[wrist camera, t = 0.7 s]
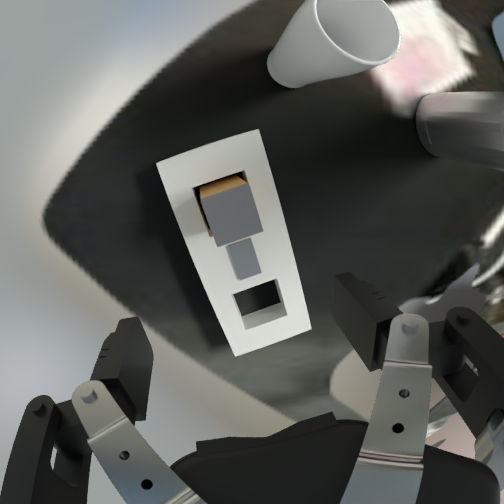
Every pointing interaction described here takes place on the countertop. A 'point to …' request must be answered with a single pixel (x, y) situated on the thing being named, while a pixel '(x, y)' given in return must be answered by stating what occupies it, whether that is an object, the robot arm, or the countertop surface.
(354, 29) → the drinking glass
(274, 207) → the pdu strip
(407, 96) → the countertop surface
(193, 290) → the countertop surface
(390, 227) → the countertop surface
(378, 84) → the countertop surface
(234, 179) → the plug
